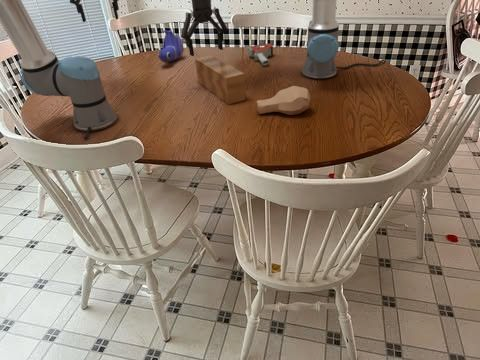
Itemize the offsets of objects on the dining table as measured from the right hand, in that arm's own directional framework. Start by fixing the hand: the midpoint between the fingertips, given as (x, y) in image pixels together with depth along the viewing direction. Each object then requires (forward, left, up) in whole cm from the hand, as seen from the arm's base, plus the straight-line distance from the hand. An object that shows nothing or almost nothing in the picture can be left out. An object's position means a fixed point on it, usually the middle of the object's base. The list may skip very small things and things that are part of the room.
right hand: (206, 52), depth 152 cm
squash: (-27, +36, -14) cm, 47 cm away
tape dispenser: (-27, -28, -14) cm, 41 cm away
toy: (+19, -36, -14) cm, 43 cm away
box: (-4, +9, -14) cm, 17 cm away
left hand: (+43, -12, +14) cm, 47 cm away
